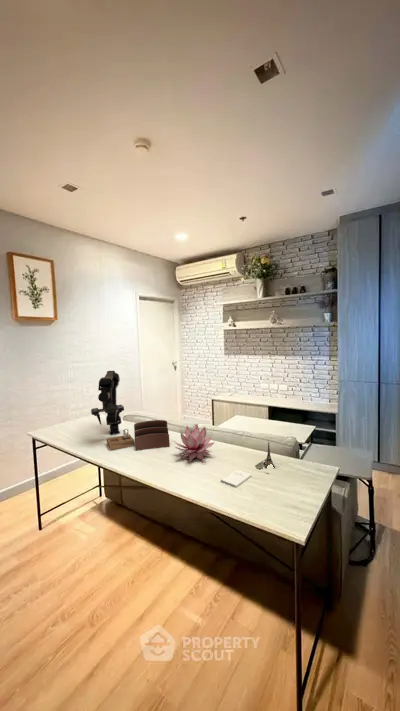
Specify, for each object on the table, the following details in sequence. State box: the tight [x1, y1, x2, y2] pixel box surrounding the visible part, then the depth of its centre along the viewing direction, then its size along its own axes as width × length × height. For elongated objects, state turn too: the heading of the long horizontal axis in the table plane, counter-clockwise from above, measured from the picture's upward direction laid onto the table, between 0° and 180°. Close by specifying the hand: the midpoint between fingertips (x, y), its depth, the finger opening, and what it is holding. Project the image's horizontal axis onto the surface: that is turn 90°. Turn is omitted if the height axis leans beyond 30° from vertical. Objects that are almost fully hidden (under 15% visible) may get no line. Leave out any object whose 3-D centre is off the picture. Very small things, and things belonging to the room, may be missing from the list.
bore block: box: [106, 434, 135, 452], centre depth 178 cm, size 12×14×4 cm
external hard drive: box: [220, 469, 252, 489], centre depth 132 cm, size 2×8×12 cm
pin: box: [122, 428, 129, 440], centre depth 179 cm, size 3×3×8 cm
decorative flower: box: [173, 424, 215, 462], centre depth 157 cm, size 21×21×15 cm
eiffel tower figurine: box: [254, 441, 276, 475], centre depth 144 cm, size 15×10×13 cm
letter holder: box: [133, 419, 171, 451], centre depth 175 cm, size 10×20×14 cm, turn 102°
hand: (108, 423), depth 182 cm, fingers open, 9 cm apart
